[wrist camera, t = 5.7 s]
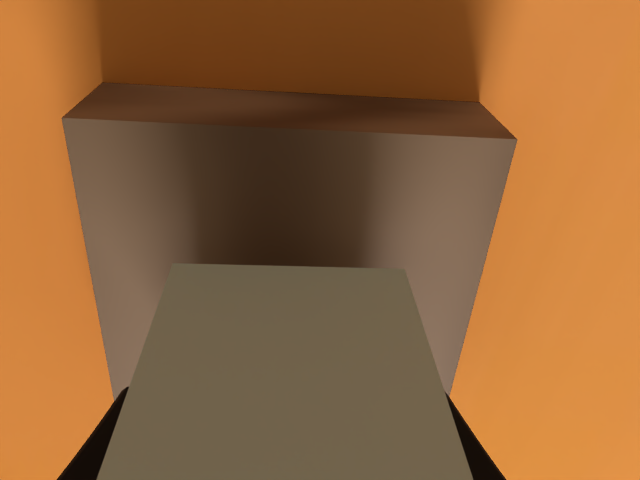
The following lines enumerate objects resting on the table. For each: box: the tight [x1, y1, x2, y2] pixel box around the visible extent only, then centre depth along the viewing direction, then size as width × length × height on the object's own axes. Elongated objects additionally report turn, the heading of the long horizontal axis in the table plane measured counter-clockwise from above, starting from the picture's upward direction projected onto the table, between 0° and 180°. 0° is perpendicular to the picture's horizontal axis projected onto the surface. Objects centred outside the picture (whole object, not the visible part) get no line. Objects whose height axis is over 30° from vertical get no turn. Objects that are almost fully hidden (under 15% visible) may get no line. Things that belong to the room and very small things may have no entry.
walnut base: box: [62, 83, 517, 401], centre depth 14 cm, size 9×9×3 cm
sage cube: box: [97, 263, 473, 480], centre depth 9 cm, size 4×4×6 cm
